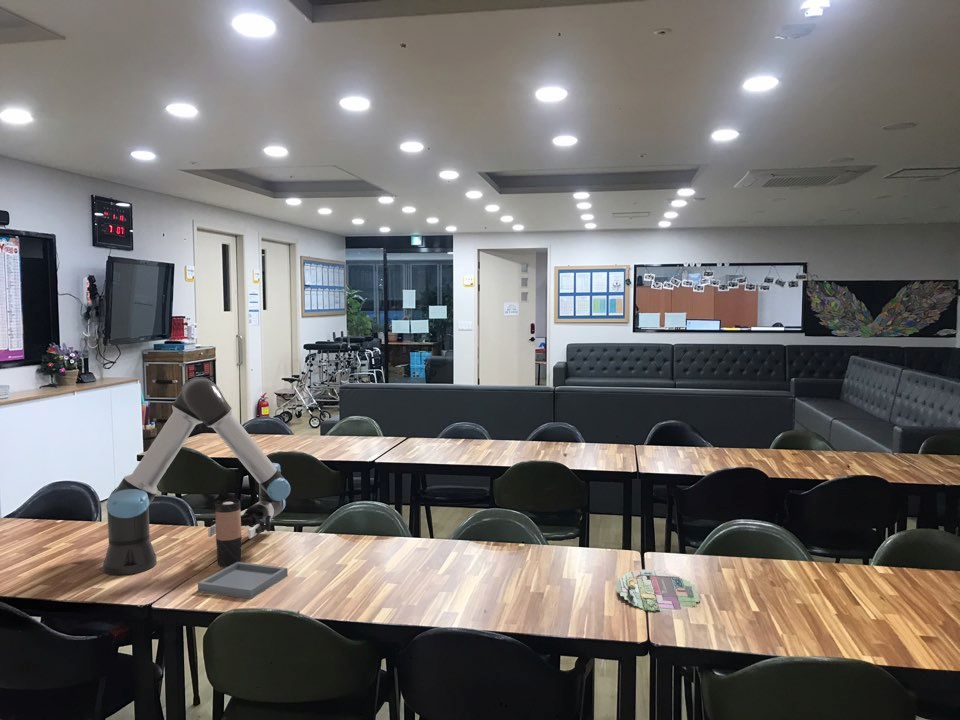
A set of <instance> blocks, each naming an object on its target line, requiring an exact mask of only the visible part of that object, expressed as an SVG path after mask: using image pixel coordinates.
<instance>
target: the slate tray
mask: <svg viewBox="0 0 960 720" xmlns="http://www.w3.org/2000/svg"><path fill="white" fill-rule="evenodd" d="M288 573H289V572H288V567H282V566H274V565H265V564H260V563H250V562H249V563H248V562H242V561H241V562H236V563H234V564H232V565H230V566H228V567H224V568H223V569H221V570H219V571H217V572H215V573H214V574H212V575H210V576H209V577H208V576H207V577H206V578H204V579H203V580H200V581H199V582H197V592H199V593H205V594H206V593H207V594H214V595H220V596H228V597H234V598H241V599H249V600H252V599H254V598H255V597H257V596H258V595H260V594H261V593H263V592H265V591H266V590H268V589H270V588H271V587H272V586H275V585H277V583H279V582H280V581H282V580H283V579H285V578H287V577H289V575H288Z"/></svg>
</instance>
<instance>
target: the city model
mask: <svg viewBox="0 0 960 720" xmlns="http://www.w3.org/2000/svg"><path fill="white" fill-rule="evenodd" d="M615 587H616V593H619V595H620V597H623V598H624V600H625V601H628V603H629V604H631V605H633V606H634V607H638V608H640V609H642V611H644V612H645V611H646V612H650V613H652V612H664V611H672V610H673V611H674V610H682V609H683V610H685V609H693V607H695V608H696V607H697V603H700V601H701V599H700V596H699V593H698V591H697V588H696V585H695V584H691V581H690V580H687V579H686V578H683V577H682V578H681V577H680V576H679V575H677V574H674V573H673V574H672V573H669V572H666V571H663V570H655V569H639V570H630V571H626V574H625V573H624V574H623V575H622V576H621V578H620V577H619V578H618V579H615ZM697 608H698V607H697Z"/></svg>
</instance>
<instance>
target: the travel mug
mask: <svg viewBox="0 0 960 720" xmlns="http://www.w3.org/2000/svg"><path fill="white" fill-rule="evenodd" d="M214 506H215V520H216V534H215V543H216V556H217V558H216V560H217V565H218V566H219V567H221V568H227V567H228V566H230V565H232V564H234V563H236V562H242V526H241V515H242V514H241V500H240V499H237V498H227V499H225V500H223V501H220V500H217V501H216V502H215V504H214Z"/></svg>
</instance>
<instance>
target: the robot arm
mask: <svg viewBox="0 0 960 720" xmlns="http://www.w3.org/2000/svg"><path fill="white" fill-rule="evenodd" d="M179 391H180V392H179V393H178V395H177V397H176V399H174V402H172V405H171V409H172V413H171V414H170V416H169V418H168V419H166V420H167V421H166V422H165V423H164V425H163V427H162V428H161V430H160V431H159V433H158V434H157V435H156V437H155V439H154V440H153V441H152V443H151V445H150V446H149V447H148V449H147V451H146V453H144V455H143V457H142V458H141V460H140V462H139V463H138V464H137V466H136V467H135V469H134V471H133V472H132V473H131V474H128V475H125V476H123V478H122V480H121V482H119V484H118V486H117V487H116V488H114V490H112V491H111V493H110V494H109V496H108V498H107V500H106V501H107V503H106V512H107V531H108V533H107V536H108V537H107V538H108V547H107V551H106V552H105V559H104V561H103V563H102V564H103V566H102V569H103V573H105V574H107V575H112V576H123V575H124V576H127V575H133V574H137V573H141V572H145V571H147V570H150V569H152V568H154V567H156V565H157V563H158V561H157V554H156V552H155V550H154V547H153V544H152V542H151V535H150V534H151V533H150V532H151V531H150V510H149V509H150V508H149V506H150V505H151V503H152V502H153V500H154V499H155V497H156V496H157V494H158V490H157V485H158V484H159V482H160V481H161V480H162V477H163V476H164V475H165V473H166V472H167V470H168V468H169V467H170V465H171V464H172V462H173V461H174V460H175V458H176V456H177V455H178V453H179V452H180V450H181V448H182V447H183V446H184V444H185V442H186V441H187V439H188V438H189V436H190V435H191V433H192V432H193V430H194V429H195V427H196V426H197V425H199V424H204V425H205V426H206V427H207V428H212V429H213V430H214V431H215V432H216V434H217V435H218V436H219V438H220V439H221V440H222V442H224V443H225V445H226V446H227V447H228V448H229V449H230V450H231V452H232V453H233V454H234V455H235V457H236V458H237V459H238V461H239V462H241V463H240V464H242V465H243V466H244V468H245V469H246V470H247V471H248V472H249V473H250V474H251V476H252V477H253V478H254V479H255V481H256V482H257V483H258V486H259V487H258V488H259V489H258V491H259V492H258V493H259V494H258V495H259V497H258V498H259V500H258V502H256V503H255V504H253V505H251V506H250V507H248V508H247V509H246V510H245V512H244V513H243V514H241V527H249V529H248V539H253V538H254V537H256V536H257V535H258V534H260V533H264V532H265V531H266V532H270V531H271V524H272V519H273V518H275V517H276V516H278V515H280V514H281V512H283V510H284V509H285V507H286V499H287V498H288V496H289V495H290V494H291V485H290V483H289V482H288V480H287V479H285V477H284V475H282V474H281V472H282V470H281V465H280V464H279V463H277V462H276V463H275V462H272V461H271V460H270V458H268V456H267V455H266V454H265V452H264V451H263V450H262V449H261V447H260V446H259V445H258V444H257V443H256V441H255V440H254V439H253V438H252V436H251V435H250V434H249V433H248V431H246V428H244V427H243V426H242V424H241V422H239V420H238V419H237V418H236V417H235V415H234V414H233V413H232V412H233V408H232V407H231V405H230V404H229V403H228V401H227V400H226V398H225V397H224V395H223V393H222V391H221V389H220V388H219V387H218V386H217V384H215V382H213V381H212V380H211V379H209V378H206V377H203V376H200V377H199V376H197V377H193V378H191V379H188V380H186V381H185V382H184V383H183V385H182V386H181V388H180V390H179ZM214 535H216V519H215V520H212V521H211V525H210V527H208V528H207V538H208V537H213V536H214Z"/></svg>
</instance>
